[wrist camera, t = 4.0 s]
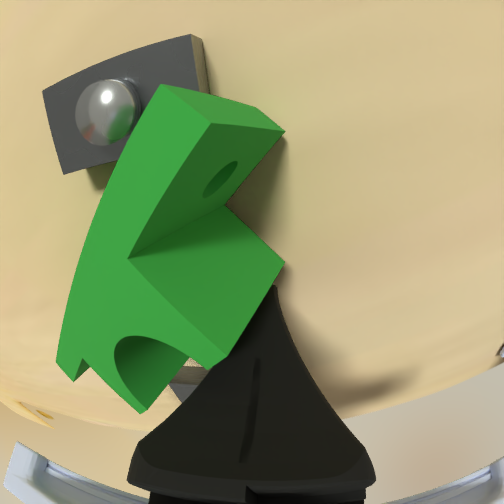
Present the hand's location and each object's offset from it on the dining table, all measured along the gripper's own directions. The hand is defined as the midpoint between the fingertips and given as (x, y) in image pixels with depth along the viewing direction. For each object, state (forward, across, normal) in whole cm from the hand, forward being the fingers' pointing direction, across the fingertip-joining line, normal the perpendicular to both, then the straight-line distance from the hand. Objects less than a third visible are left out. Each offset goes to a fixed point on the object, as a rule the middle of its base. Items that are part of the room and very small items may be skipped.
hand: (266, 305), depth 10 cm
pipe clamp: (+1, +2, -1) cm, 3 cm away
